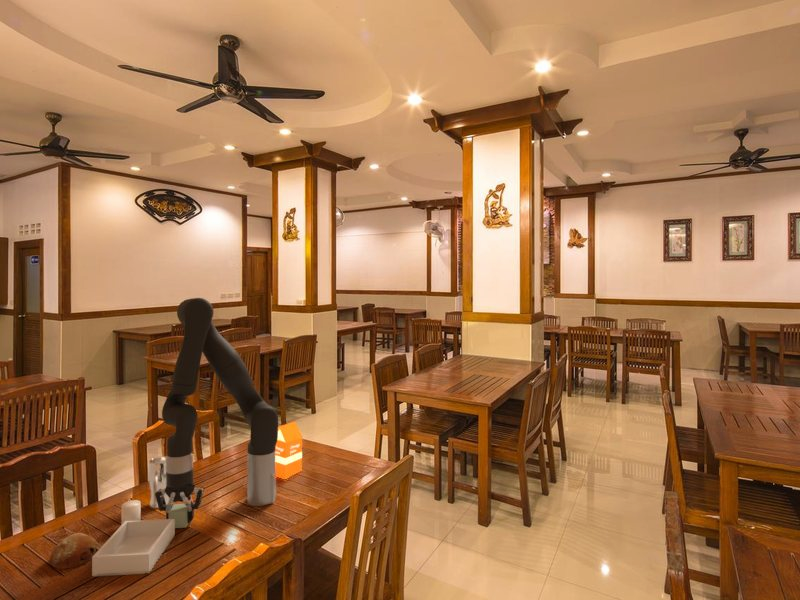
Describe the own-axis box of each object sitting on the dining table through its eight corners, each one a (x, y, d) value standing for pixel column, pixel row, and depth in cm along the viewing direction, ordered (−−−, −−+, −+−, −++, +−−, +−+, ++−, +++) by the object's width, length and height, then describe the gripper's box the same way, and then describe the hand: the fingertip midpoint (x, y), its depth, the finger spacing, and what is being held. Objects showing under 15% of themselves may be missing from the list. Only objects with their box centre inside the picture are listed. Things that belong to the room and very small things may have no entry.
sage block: (191, 519, 142) (191, 503, 142) (185, 527, 137) (185, 511, 137) (174, 519, 142) (174, 504, 141) (168, 528, 137) (168, 512, 136)
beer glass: (161, 510, 148) (161, 465, 147) (143, 507, 149) (143, 462, 149) (176, 500, 155) (176, 457, 154) (158, 498, 156) (158, 455, 156)
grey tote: (174, 535, 133) (174, 518, 133) (149, 573, 116) (149, 554, 116) (125, 537, 132) (125, 520, 132) (92, 576, 114) (92, 557, 114)
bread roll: (74, 560, 127) (61, 535, 126) (109, 543, 127) (96, 518, 127) (50, 583, 117) (36, 556, 116) (88, 565, 118) (74, 538, 117)
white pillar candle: (143, 522, 141) (143, 499, 140) (136, 530, 136) (136, 507, 135) (126, 522, 140) (126, 500, 140) (118, 531, 135) (118, 508, 135)
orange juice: (302, 472, 179) (302, 422, 179) (285, 480, 172) (285, 428, 171) (288, 468, 183) (288, 419, 183) (271, 475, 176) (271, 424, 175)
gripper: (207, 462, 143) (208, 515, 144) (160, 463, 142) (160, 517, 142) (200, 472, 136) (200, 527, 137) (149, 473, 134) (150, 530, 135)
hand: (180, 522), depth 139 cm, fingers closed on sage block, 5 cm apart
